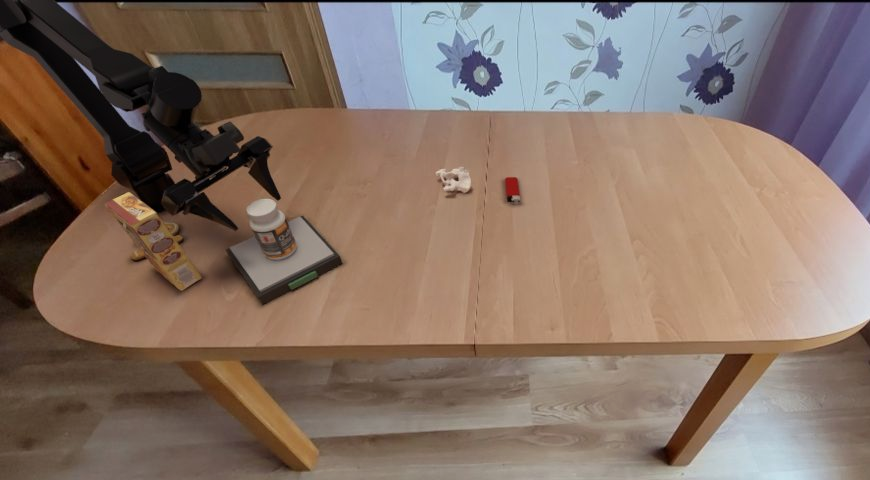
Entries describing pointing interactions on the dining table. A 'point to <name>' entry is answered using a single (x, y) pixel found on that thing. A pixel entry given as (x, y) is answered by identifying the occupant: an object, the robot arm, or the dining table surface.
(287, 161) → the dining table surface
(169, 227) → the cookie
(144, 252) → the candy box
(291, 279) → the kitchen scale
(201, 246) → the dining table surface
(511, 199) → the lighter
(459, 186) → the hip bone replica
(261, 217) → the pill bottle
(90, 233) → the dining table surface
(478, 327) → the dining table surface
